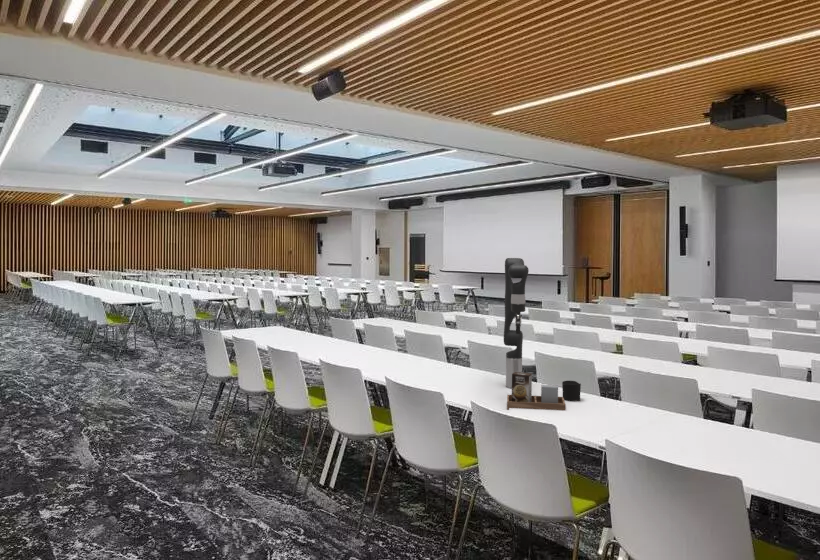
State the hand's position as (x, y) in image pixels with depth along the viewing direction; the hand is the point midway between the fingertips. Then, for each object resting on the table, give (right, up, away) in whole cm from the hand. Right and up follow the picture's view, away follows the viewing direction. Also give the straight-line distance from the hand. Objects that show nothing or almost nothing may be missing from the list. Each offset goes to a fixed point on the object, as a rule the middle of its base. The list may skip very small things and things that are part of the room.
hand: (518, 332), depth 311 cm
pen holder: (+28, -36, -3) cm, 46 cm away
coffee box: (-1, -36, -13) cm, 38 cm away
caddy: (+6, -37, -14) cm, 40 cm away
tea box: (+13, -36, -16) cm, 41 cm away
